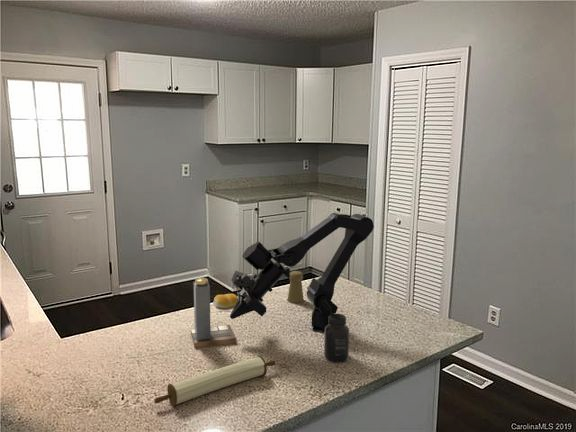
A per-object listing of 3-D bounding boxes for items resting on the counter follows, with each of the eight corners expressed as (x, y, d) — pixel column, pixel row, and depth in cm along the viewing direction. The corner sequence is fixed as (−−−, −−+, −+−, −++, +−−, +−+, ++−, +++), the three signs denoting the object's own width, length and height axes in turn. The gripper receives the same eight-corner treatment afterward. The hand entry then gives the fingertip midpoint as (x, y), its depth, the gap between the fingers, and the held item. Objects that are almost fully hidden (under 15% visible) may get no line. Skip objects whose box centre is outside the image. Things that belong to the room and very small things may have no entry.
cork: (303, 303, 170) (304, 274, 168) (287, 303, 170) (287, 274, 168) (303, 297, 176) (304, 269, 174) (287, 297, 176) (287, 269, 174)
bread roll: (242, 306, 168) (242, 295, 167) (218, 310, 163) (218, 299, 163) (233, 298, 175) (233, 288, 174) (210, 302, 171) (210, 292, 170)
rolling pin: (269, 366, 126) (269, 349, 125) (280, 375, 122) (281, 357, 121) (150, 404, 108) (150, 384, 107) (159, 416, 104) (158, 396, 103)
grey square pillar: (206, 326, 145) (205, 273, 142) (210, 338, 137) (209, 282, 134) (193, 328, 144) (192, 274, 140) (196, 340, 136) (195, 283, 132)
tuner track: (229, 328, 148) (229, 324, 148) (235, 342, 139) (235, 337, 139) (190, 333, 145) (190, 328, 144) (194, 347, 135) (194, 342, 135)
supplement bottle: (350, 353, 133) (352, 313, 131) (345, 365, 127) (347, 323, 125) (327, 349, 135) (328, 310, 133) (321, 360, 129) (322, 319, 127)
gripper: (241, 254, 147) (206, 291, 146) (254, 271, 130) (216, 313, 129) (265, 275, 151) (232, 312, 150) (282, 295, 134) (244, 336, 132)
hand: (230, 317), depth 140 cm, fingers closed
